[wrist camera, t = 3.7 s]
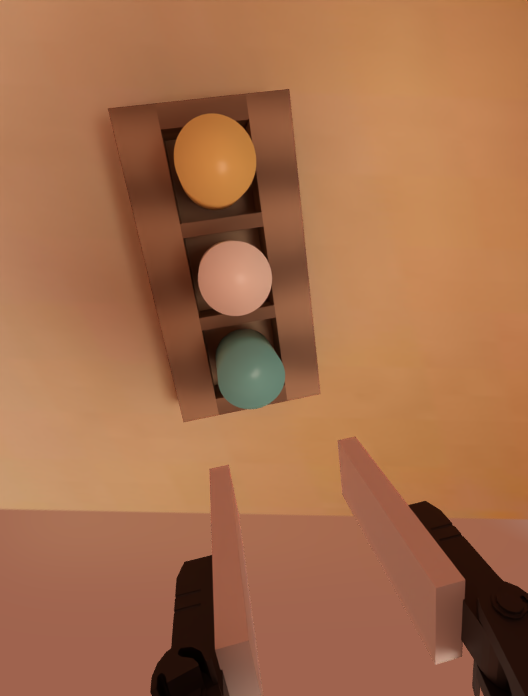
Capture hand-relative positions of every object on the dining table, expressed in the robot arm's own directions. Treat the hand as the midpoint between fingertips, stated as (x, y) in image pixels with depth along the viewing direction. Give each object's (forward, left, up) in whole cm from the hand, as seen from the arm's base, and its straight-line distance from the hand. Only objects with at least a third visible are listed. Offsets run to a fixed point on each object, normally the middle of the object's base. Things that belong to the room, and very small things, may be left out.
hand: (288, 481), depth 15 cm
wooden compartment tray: (-7, 0, -20) cm, 21 cm away
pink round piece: (-7, 0, -16) cm, 18 cm away
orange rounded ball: (-14, 0, -16) cm, 22 cm away
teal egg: (0, 0, -16) cm, 16 cm away
